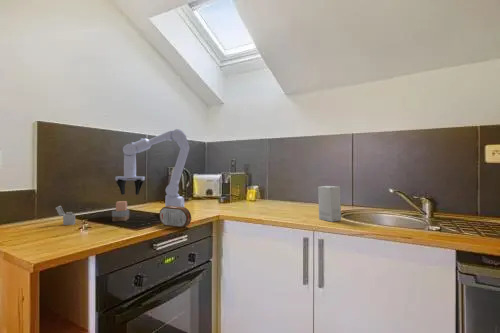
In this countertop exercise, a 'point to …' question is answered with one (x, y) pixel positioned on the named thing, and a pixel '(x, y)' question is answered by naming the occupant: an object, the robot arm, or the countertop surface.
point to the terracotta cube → (121, 206)
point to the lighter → (66, 216)
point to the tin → (175, 216)
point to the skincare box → (329, 203)
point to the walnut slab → (120, 218)
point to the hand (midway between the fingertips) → (130, 194)
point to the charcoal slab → (120, 213)
